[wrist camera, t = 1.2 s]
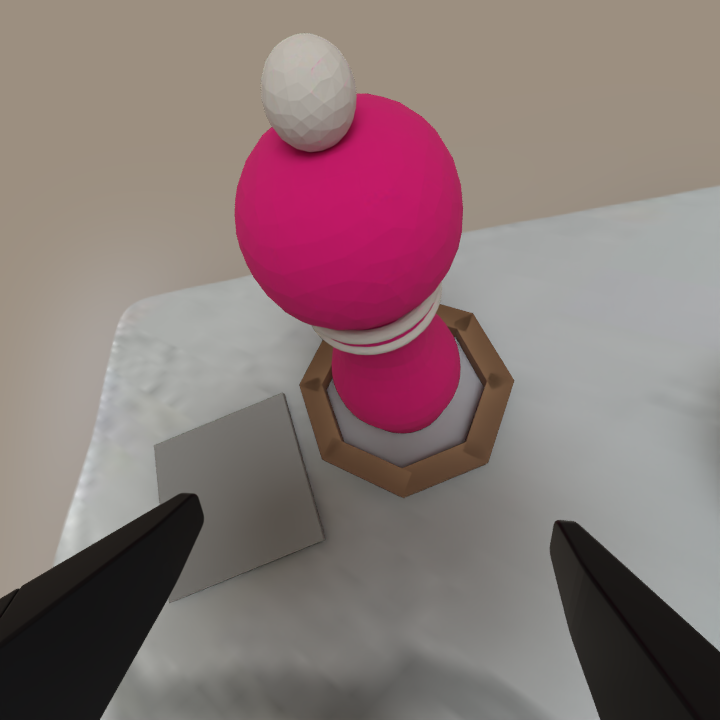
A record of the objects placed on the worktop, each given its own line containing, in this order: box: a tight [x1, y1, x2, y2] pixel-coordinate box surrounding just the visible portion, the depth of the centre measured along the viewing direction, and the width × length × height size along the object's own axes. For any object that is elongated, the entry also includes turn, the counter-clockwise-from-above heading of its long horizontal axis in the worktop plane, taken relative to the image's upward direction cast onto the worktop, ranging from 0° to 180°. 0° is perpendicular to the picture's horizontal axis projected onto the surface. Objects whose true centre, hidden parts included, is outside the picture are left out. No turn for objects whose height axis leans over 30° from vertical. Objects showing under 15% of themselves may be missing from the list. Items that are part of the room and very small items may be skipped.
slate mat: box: [154, 393, 325, 603], centre depth 23 cm, size 10×10×1 cm
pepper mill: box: [235, 33, 463, 433], centre depth 15 cm, size 7×7×20 cm
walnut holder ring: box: [299, 304, 514, 498], centre depth 24 cm, size 13×13×1 cm
